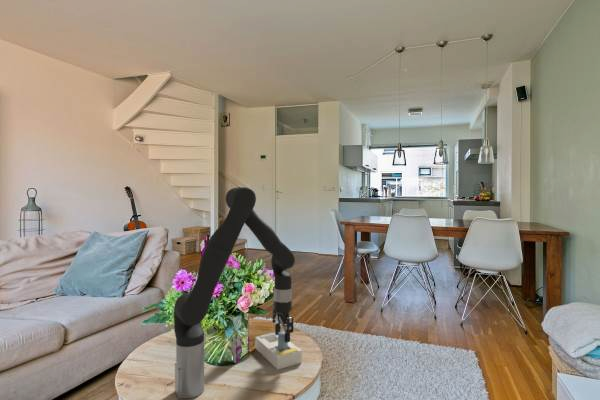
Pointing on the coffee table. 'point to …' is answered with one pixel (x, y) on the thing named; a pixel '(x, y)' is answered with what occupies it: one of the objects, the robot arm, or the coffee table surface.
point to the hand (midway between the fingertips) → (282, 338)
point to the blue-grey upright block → (282, 342)
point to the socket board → (270, 351)
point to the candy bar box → (238, 346)
